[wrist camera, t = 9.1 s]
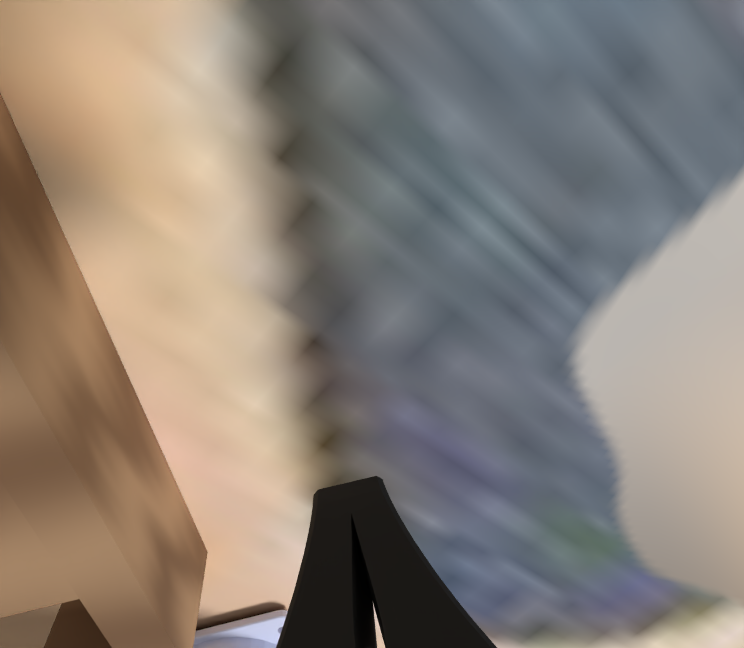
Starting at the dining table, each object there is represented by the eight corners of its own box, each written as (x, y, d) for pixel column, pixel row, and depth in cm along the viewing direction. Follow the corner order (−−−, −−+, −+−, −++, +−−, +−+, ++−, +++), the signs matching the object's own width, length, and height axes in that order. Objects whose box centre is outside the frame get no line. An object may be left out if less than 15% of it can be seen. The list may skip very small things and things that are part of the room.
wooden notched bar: (207, 552, 22) (189, 672, 18) (90, 580, 22) (42, 709, 17) (-11, 69, 13) (-154, 69, 9) (-213, 102, 13) (-465, 120, 9)
